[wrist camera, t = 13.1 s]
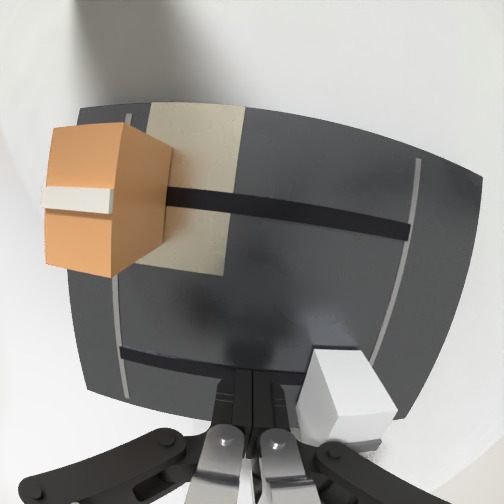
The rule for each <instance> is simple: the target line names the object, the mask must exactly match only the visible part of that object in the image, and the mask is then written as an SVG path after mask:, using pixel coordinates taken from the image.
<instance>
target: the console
mask: <svg viewBox="0 0 504 504" xmlns="http://www.w3.org/2000/svg"><path fill="white" fill-rule="evenodd" d="M117 122H124V123H126V124H128V125H130V126H132V127H134V128H136V129H138V130H140V131H142V132H144V133H146V134H148V135H150V136H152V137H154V138H156V139H158V140H160V141H162V142H164V143H165V144H167V145H169V146H171V147H173V148H172V155H171V162H170V169H169V177H168V185H167V194H166V204H165V214H164V226H163V239H162V245H161V246H159V247H158V248H156V249H155V250H153V251H152V252H150V253H148V254H147V255H145V256H144V257H142V258H141V259H139V260H138V261H136V262H135V263H133V264H131V265H130V266H128V267H127V268H125V269H124V270H122V271H121V272H119V273H118V274H116V275H115V276H113V277H112V278H108V277H103V276H98V275H93V274H89V273H84V272H79V271H75V270H70V269H67V272H68V284H69V295H70V304H71V312H72V319H73V325H74V332H75V337H76V343H77V348H78V353H79V358H80V362H81V366H82V371H83V375H84V379H85V382H86V386H87V390H90V391H93V392H96V393H98V394H101V395H104V396H107V397H110V398H113V399H117V400H120V401H123V402H126V403H130V404H133V405H137V406H141V407H144V408H148V409H152V410H156V411H160V412H166V413H169V414H174V415H179V416H184V417H189V418H195V419H201V420H207V421H212V415H213V409H214V403H215V397H216V391H217V385H218V383H219V382H220V381H221V380H222V379H223V378H230V379H235V372H236V369H243V370H252V371H264V372H269V381H270V383H279V384H280V386H281V387H282V388H283V390H284V392H285V400H286V407H287V412H288V419H289V426H290V427H299V423H298V417H297V412H296V405H297V402H298V399H299V396H300V393H301V390H302V387H303V384H304V381H305V378H306V375H307V371H308V368H309V365H310V361H311V358H312V354H313V351H314V349H324V350H361V351H362V352H363V354H364V356H365V357H366V359H367V360H368V362H369V364H370V365H371V367H372V368H373V370H374V371H375V373H376V375H377V376H378V378H379V380H380V381H381V383H382V384H383V386H384V388H385V389H386V391H387V393H388V394H389V396H390V398H391V399H392V401H393V403H394V404H395V406H396V408H397V409H398V411H397V413H396V415H395V416H394V418H393V420H397V419H403V418H405V417H406V416H407V414H408V412H409V411H410V409H411V407H412V406H413V404H414V402H415V400H416V399H417V397H418V395H419V393H420V392H421V390H422V388H423V386H424V384H425V382H426V380H427V378H428V376H429V374H430V372H431V370H432V368H433V366H434V364H435V362H436V360H437V357H438V355H439V353H440V351H441V348H442V346H443V344H444V341H445V339H446V336H447V334H448V331H449V329H450V326H451V323H452V321H453V318H454V315H455V312H456V309H457V306H458V303H459V300H460V297H461V294H462V290H463V287H464V284H465V280H466V276H467V272H468V269H469V264H470V260H471V256H472V251H473V247H474V242H475V236H476V231H477V225H478V218H479V211H480V203H481V193H482V181H483V177H482V176H480V175H478V174H476V173H474V172H472V171H470V170H468V169H466V168H464V167H461V166H459V165H457V164H455V163H453V162H450V161H448V160H446V159H444V158H441V157H439V156H436V155H434V154H432V153H429V152H427V151H424V150H421V149H419V148H416V147H413V146H411V145H408V144H405V143H402V142H399V141H397V140H394V139H391V138H387V137H384V136H381V135H378V134H375V133H371V132H368V131H364V130H361V129H357V128H354V127H350V126H346V125H342V124H338V123H334V122H330V121H325V120H321V119H316V118H311V117H306V116H301V115H296V114H290V113H284V112H278V111H271V110H264V109H257V108H248V107H245V106H235V105H224V104H209V103H187V102H152V103H134V104H118V105H106V106H96V107H87V108H80V112H79V116H78V121H77V125H87V124H99V123H117Z"/></svg>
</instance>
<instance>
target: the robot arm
mask: <svg viewBox="0 0 504 504" xmlns="http://www.w3.org/2000/svg"><path fill="white" fill-rule="evenodd" d="M245 452H246V458H247V459H252V466H251V470H250V481H251V491H252V501H253V504H451V503H449V502H446V501H444V500H442V499H440V498H438V497H436V496H433V495H431V494H429V493H427V492H425V491H423V490H421V489H419V488H417V487H415V486H413V485H411V484H409V483H407V482H406V481H404V480H402V479H400V478H398V477H396V476H395V475H393V474H391V473H389V472H388V471H386V470H384V469H383V468H381V467H379V466H377V465H376V464H374V463H373V462H371V461H369V460H368V459H366V458H364V457H363V456H361V455H360V454H358V453H357V452H355V451H354V450H352V449H350V448H349V447H347V446H346V445H344V444H343V443H340V442H336V441H329V442H325V443H323V444H321V445H320V446H319V447H316V446H312V445H307V444H304V443H301V442H300V441H298V440H297V439H296V438H295V437H294V435H293V434H291V431H290V426H289V419H288V412H287V407H286V400H285V392H284V390H283V388H282V387H281V386H280V384H279V383H270V381H269V372H264V371H252V370H243V369H236V372H235V379H230V378H223V379H222V380H221V381H220V382H219V383H218V385H217V391H216V397H215V403H214V409H213V415H212V421H211V426H210V428H209V429H208V430H207V431H206V432H204V433H202V434H200V435H196V436H183V435H182V434H181V433H179V432H178V431H176V430H174V429H171V428H159V429H156V430H153V431H151V432H149V433H147V434H145V435H143V436H141V437H139V438H136V439H134V440H132V441H130V442H128V443H125V444H123V445H121V446H118V447H116V448H114V449H111V450H109V451H106V452H104V453H101V454H99V455H96V456H94V457H91V458H88V459H86V460H83V461H80V462H77V463H74V464H71V465H68V466H65V467H62V468H59V469H56V470H52V471H49V472H45V473H42V474H38V475H34V476H30V477H27V478H25V479H23V480H22V481H21V482H20V484H19V487H18V492H19V496H20V498H21V500H22V501H23V502H24V504H150V503H152V502H154V501H155V500H157V499H159V498H161V497H163V496H164V495H166V494H168V493H170V492H171V491H173V490H175V489H176V488H178V487H180V486H181V485H183V484H184V483H185V482H191V483H190V486H189V489H188V493H187V496H186V500H185V503H184V504H237V497H238V490H239V477H240V470H241V462H242V458H244V456H245Z"/></svg>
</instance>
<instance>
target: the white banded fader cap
mask: <svg viewBox="0 0 504 504" xmlns="http://www.w3.org/2000/svg"><path fill="white" fill-rule="evenodd" d="M397 411H398V409H397V408H396V406H395V404H394V403H393V401H392V399H391V398H390V396H389V394H388V393H387V391H386V389H385V388H384V386H383V384H382V383H381V381H380V380H379V378H378V376H377V375H376V373H375V371H374V370H373V368H372V367H371V365H370V364H369V362H368V360H367V359H366V357H365V356H364V354H363V352H362V351H361V350H324V349H314V351H313V354H312V358H311V361H310V365H309V368H308V371H307V375H306V378H305V381H304V384H303V387H302V390H301V393H300V396H299V399H298V402H297V405H296V412H297V417H298V423H299V428H300V434H301V439H302V443H304V444H307V445H312V446H316V447H319V446H320V445H321V444H323V443H325V442H329V441H336V442H340V443H343V444H344V445H346V446H347V447H349V448H350V449H352V450H354V451H355V452H357V453H358V454H360V455H361V456H363V457H364V458H367V457H368V456H369V454H370V453H371V451H374V450H377V448H378V447H379V445H380V444H381V442H382V441H381V437H382V435H383V434H384V432H385V431H386V429H387V428H388V426H389V425H390V423H391V421H392V420H393V418H394V416H395V415H396V413H397Z"/></svg>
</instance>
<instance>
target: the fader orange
mask: <svg viewBox="0 0 504 504" xmlns="http://www.w3.org/2000/svg"><path fill="white" fill-rule="evenodd" d="M172 148H173V147H171V146H169V145H167V144H165V143H164V142H162V141H160V140H158V139H156V138H154V137H152V136H150V135H148V134H146V133H144V132H142V131H140V130H138V129H136V128H134V127H132V126H130V125H128V124H126V123H124V122H117V123H99V124H87V125H76V126H67V127H59V128H54V130H53V135H52V141H51V147H50V154H49V161H48V170H47V180H46V186H42V191H41V208H45V258H46V264H48V265H53V266H57V267H61V268H66V269H70V270H75V271H79V272H84V273H89V274H93V275H98V276H103V277H108V278H112V277H113V276H115V275H116V274H118V273H119V272H121V271H122V270H124V269H125V268H127V267H128V266H130V265H131V264H133V263H135V262H136V261H138V260H139V259H141V258H142V257H144V256H145V255H147V254H148V253H150V252H152V251H153V250H155V249H156V248H158V247H159V246H161V245H162V239H163V226H164V214H165V204H166V194H167V185H168V177H169V169H170V162H171V155H172Z"/></svg>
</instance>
